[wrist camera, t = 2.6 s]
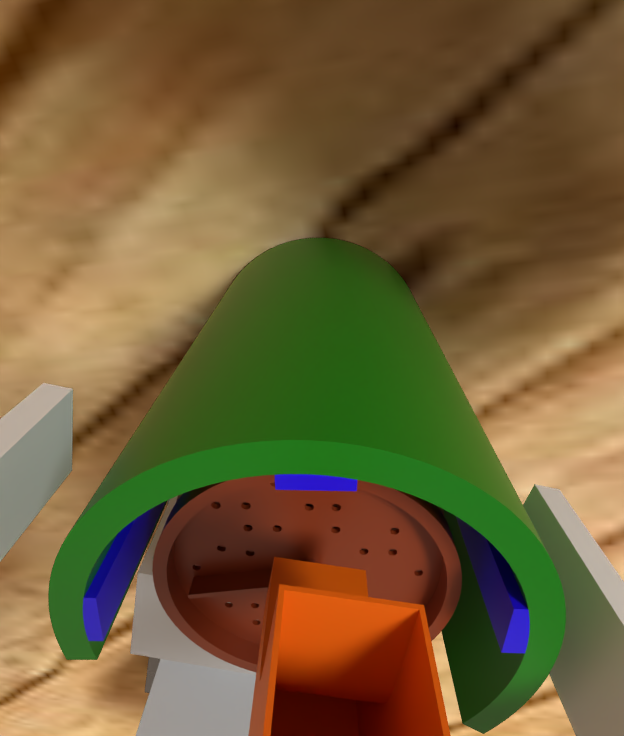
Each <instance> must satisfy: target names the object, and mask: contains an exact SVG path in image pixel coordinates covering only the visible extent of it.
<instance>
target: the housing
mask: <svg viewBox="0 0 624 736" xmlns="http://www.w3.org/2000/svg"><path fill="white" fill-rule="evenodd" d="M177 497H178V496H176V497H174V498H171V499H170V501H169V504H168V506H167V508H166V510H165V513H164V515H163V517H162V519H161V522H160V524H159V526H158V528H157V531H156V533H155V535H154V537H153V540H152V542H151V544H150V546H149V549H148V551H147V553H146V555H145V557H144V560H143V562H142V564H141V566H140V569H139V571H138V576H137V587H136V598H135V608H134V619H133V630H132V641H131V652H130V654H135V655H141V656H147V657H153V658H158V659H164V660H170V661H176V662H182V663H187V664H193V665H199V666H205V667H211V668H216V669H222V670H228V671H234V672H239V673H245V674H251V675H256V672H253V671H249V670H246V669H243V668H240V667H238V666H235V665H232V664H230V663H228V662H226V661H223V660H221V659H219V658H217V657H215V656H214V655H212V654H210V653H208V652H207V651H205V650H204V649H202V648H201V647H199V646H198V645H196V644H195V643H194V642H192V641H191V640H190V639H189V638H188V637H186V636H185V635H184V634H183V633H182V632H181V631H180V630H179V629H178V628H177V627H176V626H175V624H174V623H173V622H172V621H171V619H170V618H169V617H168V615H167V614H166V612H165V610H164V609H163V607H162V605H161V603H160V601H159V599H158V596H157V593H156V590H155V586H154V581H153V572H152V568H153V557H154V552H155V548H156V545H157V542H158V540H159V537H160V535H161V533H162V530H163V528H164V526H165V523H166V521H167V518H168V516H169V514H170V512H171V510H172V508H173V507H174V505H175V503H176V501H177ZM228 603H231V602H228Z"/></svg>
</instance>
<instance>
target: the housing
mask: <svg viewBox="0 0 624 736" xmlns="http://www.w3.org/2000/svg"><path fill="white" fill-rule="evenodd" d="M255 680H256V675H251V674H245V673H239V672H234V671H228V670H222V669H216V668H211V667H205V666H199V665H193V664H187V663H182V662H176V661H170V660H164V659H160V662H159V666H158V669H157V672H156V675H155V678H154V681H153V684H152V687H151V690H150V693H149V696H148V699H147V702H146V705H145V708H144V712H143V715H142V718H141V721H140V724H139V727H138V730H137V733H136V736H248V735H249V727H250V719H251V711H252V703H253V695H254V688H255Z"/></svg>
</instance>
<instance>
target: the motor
mask: <svg viewBox="0 0 624 736" xmlns="http://www.w3.org/2000/svg"><path fill="white" fill-rule="evenodd" d="M176 496H178V497H177V501H176V503H175V505H174V507H173V508H172V510H171V512H170V514H169V516H168V518H167V521H166V523H165V526H164V528H163V530H162V533H161V535H160V537H159V540H158V542H157V545H156V548H155V552H154V557H153V568H152V572H153V581H154V586H155V590H156V593H157V596H158V599H159V601H160V603H161V605H162V607H163V609H164V610H165V612H166V614H167V615H168V617H169V618H170V619H171V621H172V622H173V623H174V624H175V626H176V627H177V628H178V629H179V630H180V631H181V632H182V633H183V634H184V635H185V636H186V637H188V638H189V639H190V640H191V641H192V642H194V643H195V644H196V645H198V646H199V647H201V648H202V649H204V650H205V651H207V652H208V653H210V654H212V655H214V656H215V657H217V658H219V659H221V660H223V661H226V662H228V663H230V664H232V665H235V666H238V667H240V668H243V669H246V670H249V671H253V672H256V680H255V688H254V695H253V703H252V711H251V719H250V727H249V735H248V736H450V731H449V726H448V721H447V716H446V711H445V706H444V702H443V697H442V692H441V687H440V682H439V677H438V672H437V667H436V662H435V657H434V652H433V647H432V642H431V641H432V640H433V639H434V638H435V637H436V636H437V635H438V634H439V633H440V632H441V631H442V635H443V640H444V644H445V648H446V653H447V657H448V661H449V666H450V670H451V675H452V679H453V683H454V688H455V692H456V697H457V701H458V705H459V710H460V714H461V719H462V723H463V724H464V725H466V726H468V727H471V728H473V729H475V730H477V731H479V732H481V733H483V734H484V733H486V732H488V731H489V730H491V729H493V728H494V727H496V726H497V725H499V724H500V723H502V722H503V721H505V720H506V719H507V718H509V717H510V716H511V715H512V714H514V713H515V712H516V711H517V710H518V709H519V708H521V707H522V706H523V705H524V704H525V703H526V702H527V701H528V700H529V699H530V698H531V697H532V696H533V695H534V693H535V692H536V691H537V690H538V689H539V687H540V686H541V685H542V683H543V682H544V681H545V679H546V678H547V676H548V675H549V673H550V671H551V669H552V668H553V666H554V664H555V661H556V659H557V657H558V655H559V652H560V649H561V646H562V642H563V638H564V633H565V624H566V606H565V598H564V593H563V588H562V584H561V581H560V578H559V576H558V573H557V570H556V568H555V566H554V564H553V562H552V560H551V558H550V556H549V554H548V552H547V550H546V548H545V547H544V545H543V543H542V541H541V539H540V537H539V535H538V533H537V531H536V529H535V528H534V526H533V524H532V522H531V520H530V518H529V516H528V514H527V512H526V510H525V508H524V507H523V505H522V503H521V501H520V499H519V497H518V495H517V493H516V491H515V489H514V487H513V486H512V484H511V482H510V480H509V478H508V476H507V474H506V472H505V470H504V468H503V467H502V465H501V463H500V461H499V459H498V457H497V455H496V453H495V451H494V449H493V447H492V446H491V444H490V442H489V440H488V438H487V436H486V434H485V432H484V430H483V428H482V426H481V425H480V423H479V421H478V419H477V417H476V415H475V413H474V411H473V409H472V407H471V406H470V404H469V402H468V400H467V398H466V396H465V394H464V392H463V390H462V388H461V386H460V385H459V383H458V381H457V379H456V377H455V375H454V373H453V371H452V369H451V367H450V365H449V364H448V362H447V360H446V358H445V356H444V354H443V352H442V350H441V348H440V346H439V345H438V343H437V341H436V339H435V337H434V335H433V333H432V331H431V329H430V327H429V325H428V324H427V322H426V320H425V318H424V316H423V314H422V312H421V310H420V308H419V306H418V304H417V303H416V301H415V299H414V297H413V295H412V293H411V291H410V289H409V288H408V286H407V284H406V283H405V281H404V280H403V278H402V277H401V276H400V275H399V274H398V272H397V271H396V270H395V269H394V268H393V267H392V266H391V265H390V264H389V263H387V262H386V261H385V260H384V259H382V258H381V257H380V256H378V255H377V254H375V253H373V252H372V251H370V250H368V249H366V248H364V247H362V246H359V245H356V244H354V243H350V242H347V241H343V240H338V239H332V238H305V239H299V240H294V241H290V242H287V243H283V244H281V245H278V246H276V247H274V248H271V249H269V250H268V251H266V252H264V253H262V254H261V255H259V256H258V257H256V258H255V259H254V260H252V261H251V262H250V263H249V264H248V265H247V266H246V267H245V268H244V269H243V270H242V271H241V272H240V273H239V274H238V275H237V277H236V278H235V279H234V281H233V282H232V284H231V285H230V287H229V288H228V290H227V291H226V293H225V295H224V296H223V298H222V299H221V301H220V302H219V304H218V305H217V307H216V308H215V310H214V311H213V313H212V314H211V316H210V318H209V319H208V321H207V322H206V324H205V325H204V327H203V328H202V330H201V331H200V333H199V334H198V336H197V337H196V339H195V341H194V342H193V344H192V345H191V347H190V348H189V350H188V351H187V353H186V354H185V356H184V357H183V359H182V361H181V362H180V364H179V365H178V367H177V368H176V370H175V371H174V373H173V374H172V376H171V377H170V379H169V380H168V382H167V384H166V385H165V387H164V388H163V390H162V391H161V393H160V394H159V396H158V397H157V399H156V400H155V402H154V403H153V405H152V407H151V408H150V410H149V411H148V413H147V414H146V416H145V417H144V419H143V420H142V422H141V423H140V425H139V427H138V428H137V430H136V431H135V433H134V434H133V436H132V437H131V439H130V440H129V442H128V443H127V445H126V446H125V448H124V450H123V451H122V453H121V454H120V456H119V457H118V459H117V460H116V462H115V463H114V465H113V466H112V468H111V469H110V471H109V473H108V474H107V476H106V477H105V479H104V480H103V482H102V483H101V485H100V486H99V488H98V489H97V491H96V493H95V494H94V496H93V497H92V499H91V500H90V502H89V503H88V505H87V506H86V508H85V509H84V511H83V512H82V514H81V516H80V517H79V519H78V520H77V522H76V523H75V525H74V526H73V528H72V529H71V531H70V532H69V534H68V536H67V537H66V539H65V541H64V542H63V544H62V546H61V548H60V550H59V552H58V554H57V557H56V559H55V562H54V565H53V568H52V572H51V577H50V583H49V612H50V618H51V623H52V627H53V630H54V633H55V636H56V639H57V641H58V643H59V646H60V648H61V650H62V652H63V654H64V655H65V657H66V659H67V660H97V659H98V657H99V654H100V652H101V650H102V648H103V645H104V643H105V641H106V638H107V636H108V634H109V632H110V629H111V627H112V625H113V623H114V620H115V618H116V616H117V614H118V611H119V609H120V607H121V604H122V602H123V600H124V598H125V595H126V593H127V591H128V589H129V586H130V584H131V582H132V580H133V577H134V575H135V573H136V570H137V568H138V566H139V564H140V561H141V559H142V557H143V555H144V552H145V550H146V548H147V545H148V543H149V541H150V539H151V536H152V534H153V532H154V530H155V527H156V525H157V523H158V521H159V518H160V516H161V514H162V511H163V509H164V507H165V505H166V502H167V500H169V499H171V498H174V497H176ZM228 602H231V603H228Z"/></svg>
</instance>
